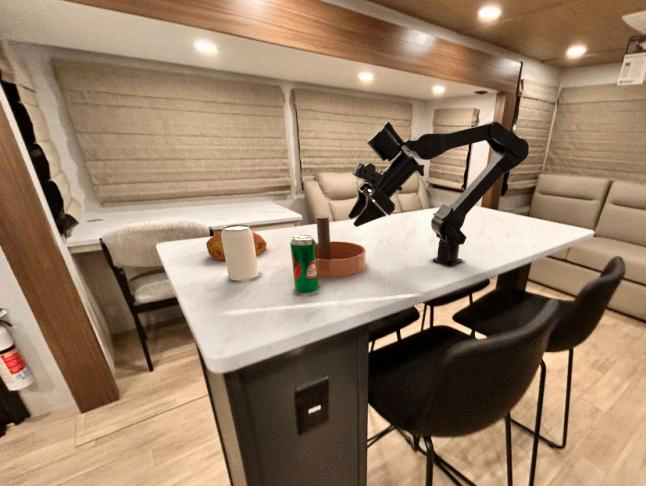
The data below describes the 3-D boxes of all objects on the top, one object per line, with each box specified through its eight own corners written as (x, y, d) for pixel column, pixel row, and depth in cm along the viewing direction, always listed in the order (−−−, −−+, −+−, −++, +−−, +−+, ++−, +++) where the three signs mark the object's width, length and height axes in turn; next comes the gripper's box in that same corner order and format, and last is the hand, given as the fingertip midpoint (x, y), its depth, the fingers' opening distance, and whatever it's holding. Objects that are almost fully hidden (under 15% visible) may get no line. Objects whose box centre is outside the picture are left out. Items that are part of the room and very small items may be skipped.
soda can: (312, 296, 65) (308, 241, 61) (290, 293, 66) (284, 239, 61) (322, 287, 70) (319, 235, 65) (302, 284, 71) (297, 233, 66)
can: (265, 274, 76) (257, 225, 71) (244, 283, 70) (235, 231, 65) (244, 270, 78) (235, 222, 73) (222, 279, 72) (212, 228, 67)
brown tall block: (333, 264, 82) (331, 215, 77) (334, 268, 80) (332, 218, 74) (316, 265, 81) (313, 215, 76) (317, 269, 78) (313, 218, 73)
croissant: (200, 265, 85) (190, 238, 81) (238, 243, 98) (230, 219, 94) (246, 270, 82) (237, 242, 78) (278, 246, 95) (272, 221, 91)
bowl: (338, 254, 92) (338, 238, 90) (377, 268, 82) (378, 250, 80) (289, 267, 80) (287, 249, 78) (328, 285, 71) (327, 265, 69)
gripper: (365, 149, 81) (324, 193, 82) (382, 150, 64) (330, 204, 66) (393, 181, 86) (355, 221, 87) (415, 189, 69) (367, 239, 71)
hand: (351, 221), depth 78 cm, fingers open, 9 cm apart
